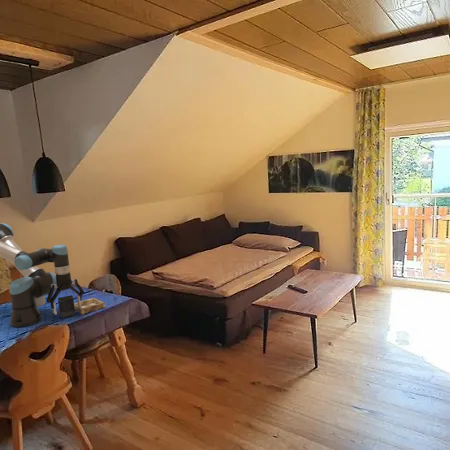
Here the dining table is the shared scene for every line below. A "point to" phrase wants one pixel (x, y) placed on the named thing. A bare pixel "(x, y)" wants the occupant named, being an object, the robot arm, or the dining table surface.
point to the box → (66, 306)
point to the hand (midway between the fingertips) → (67, 310)
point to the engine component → (40, 301)
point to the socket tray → (89, 305)
